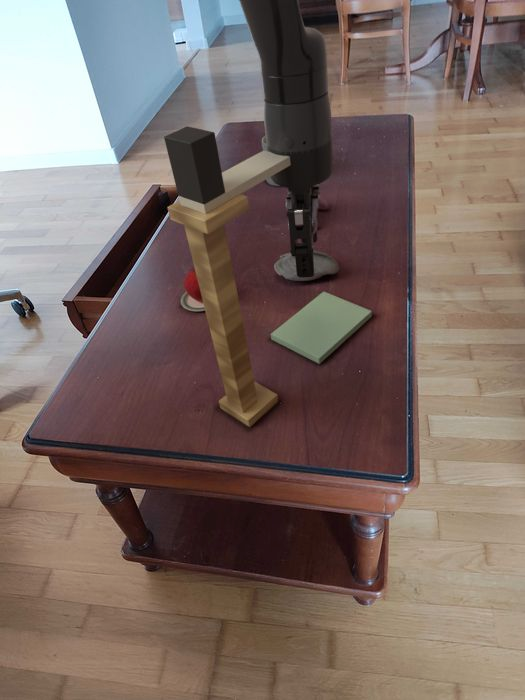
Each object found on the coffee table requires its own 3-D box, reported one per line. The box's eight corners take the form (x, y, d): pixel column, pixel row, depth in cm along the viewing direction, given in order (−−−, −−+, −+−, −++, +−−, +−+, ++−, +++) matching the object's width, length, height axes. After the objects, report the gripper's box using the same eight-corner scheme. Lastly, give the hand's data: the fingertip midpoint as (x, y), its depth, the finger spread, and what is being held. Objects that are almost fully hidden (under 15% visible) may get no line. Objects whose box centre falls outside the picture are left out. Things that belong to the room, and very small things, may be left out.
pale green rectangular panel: (371, 316, 85) (371, 310, 84) (319, 364, 78) (319, 358, 78) (323, 296, 91) (323, 291, 90) (271, 339, 84) (270, 334, 83)
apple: (176, 296, 97) (167, 266, 92) (215, 282, 98) (209, 253, 94) (189, 318, 91) (180, 288, 87) (230, 303, 93) (224, 273, 88)
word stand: (278, 401, 74) (247, 196, 53) (249, 427, 71) (205, 221, 50) (248, 383, 77) (208, 184, 56) (220, 408, 74) (166, 206, 53)
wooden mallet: (290, 165, 57) (285, 98, 53) (205, 214, 51) (190, 143, 46) (264, 158, 60) (256, 94, 55) (180, 205, 53) (163, 136, 48)
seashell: (340, 261, 99) (339, 238, 95) (338, 286, 93) (337, 263, 89) (279, 262, 101) (276, 239, 98) (273, 286, 95) (270, 264, 92)
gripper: (330, 159, 53) (334, 288, 64) (333, 112, 63) (336, 230, 74) (258, 164, 54) (274, 289, 65) (273, 117, 64) (285, 232, 75)
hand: (307, 257), depth 69 cm, fingers open, 8 cm apart
